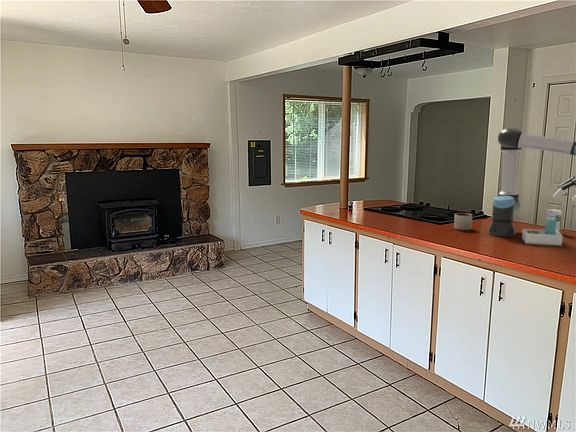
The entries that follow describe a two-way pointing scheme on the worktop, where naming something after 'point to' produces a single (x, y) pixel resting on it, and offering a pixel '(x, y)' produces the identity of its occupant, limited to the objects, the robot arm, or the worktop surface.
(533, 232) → the walnut cube
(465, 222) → the planter
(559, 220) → the syrup box
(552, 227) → the teal cylinder
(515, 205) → the robot arm
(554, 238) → the grey tote
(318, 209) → the worktop surface
